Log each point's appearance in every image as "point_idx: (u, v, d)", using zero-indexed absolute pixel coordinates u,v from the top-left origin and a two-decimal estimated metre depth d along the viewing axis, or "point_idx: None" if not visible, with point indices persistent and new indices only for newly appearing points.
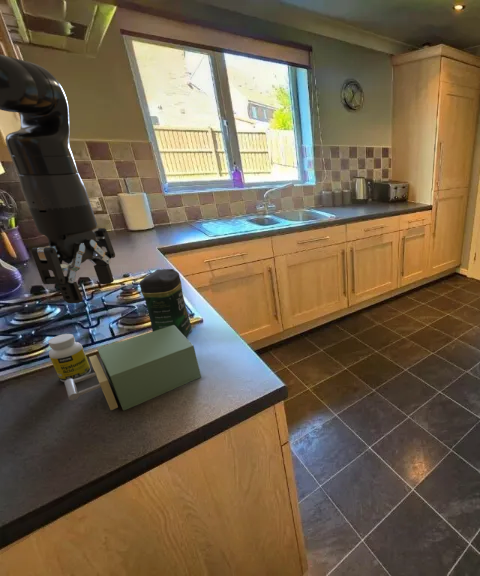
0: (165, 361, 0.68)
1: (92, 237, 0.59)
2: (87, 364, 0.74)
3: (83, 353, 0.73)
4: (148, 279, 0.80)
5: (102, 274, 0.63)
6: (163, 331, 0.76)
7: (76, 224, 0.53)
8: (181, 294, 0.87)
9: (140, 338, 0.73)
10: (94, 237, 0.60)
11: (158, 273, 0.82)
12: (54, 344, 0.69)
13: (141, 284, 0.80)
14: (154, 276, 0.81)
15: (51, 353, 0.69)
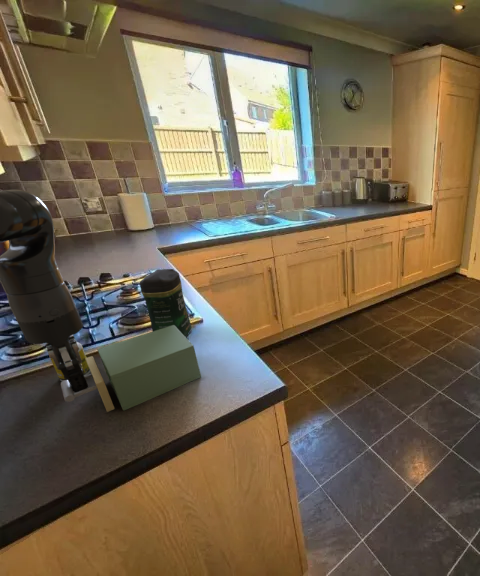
0: (165, 361, 0.68)
1: None
2: (87, 364, 0.74)
3: (83, 353, 0.73)
4: (148, 279, 0.80)
5: None
6: (163, 331, 0.76)
7: (77, 324, 0.59)
8: (181, 294, 0.87)
9: (140, 338, 0.73)
10: None
11: (158, 273, 0.82)
12: None
13: (141, 284, 0.80)
14: (154, 276, 0.81)
15: None
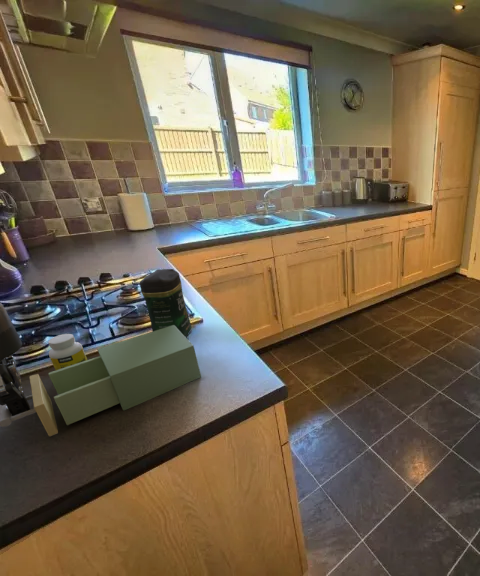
0: (165, 361, 0.68)
1: None
2: None
3: (83, 353, 0.73)
4: (148, 279, 0.80)
5: None
6: (163, 331, 0.76)
7: (13, 344, 0.54)
8: (181, 294, 0.87)
9: (140, 338, 0.73)
10: None
11: (158, 273, 0.82)
12: (54, 344, 0.69)
13: (141, 284, 0.80)
14: (154, 276, 0.81)
15: (51, 353, 0.69)
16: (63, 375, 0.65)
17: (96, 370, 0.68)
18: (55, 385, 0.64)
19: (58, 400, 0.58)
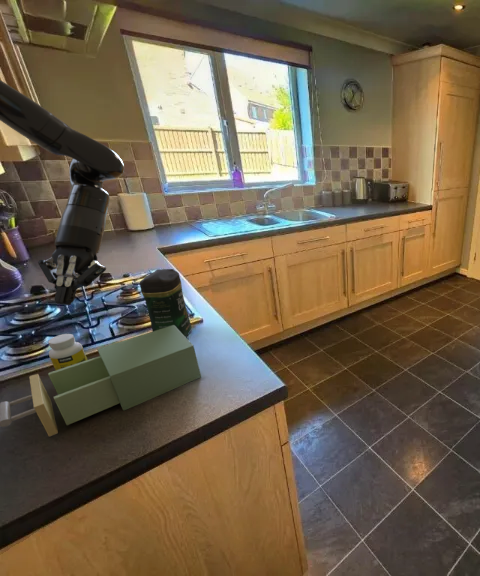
0: (165, 361, 0.68)
1: None
2: None
3: (83, 353, 0.73)
4: (148, 279, 0.80)
5: None
6: (163, 331, 0.76)
7: None
8: (181, 294, 0.87)
9: (140, 338, 0.73)
10: None
11: (158, 273, 0.82)
12: (54, 344, 0.69)
13: (141, 284, 0.80)
14: (154, 276, 0.81)
15: (51, 353, 0.69)
16: (63, 375, 0.65)
17: (96, 370, 0.68)
18: (55, 385, 0.64)
19: (58, 400, 0.58)
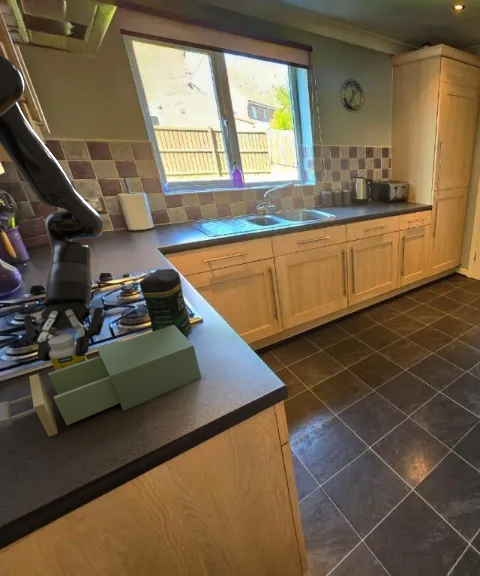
0: (165, 361, 0.68)
1: None
2: None
3: None
4: (148, 279, 0.80)
5: (47, 351, 0.70)
6: (163, 331, 0.76)
7: None
8: (181, 294, 0.87)
9: (140, 338, 0.73)
10: None
11: (158, 273, 0.82)
12: (54, 344, 0.69)
13: (141, 284, 0.80)
14: (154, 276, 0.81)
15: (51, 353, 0.69)
16: (63, 375, 0.65)
17: (96, 370, 0.68)
18: (55, 385, 0.64)
19: (58, 400, 0.58)
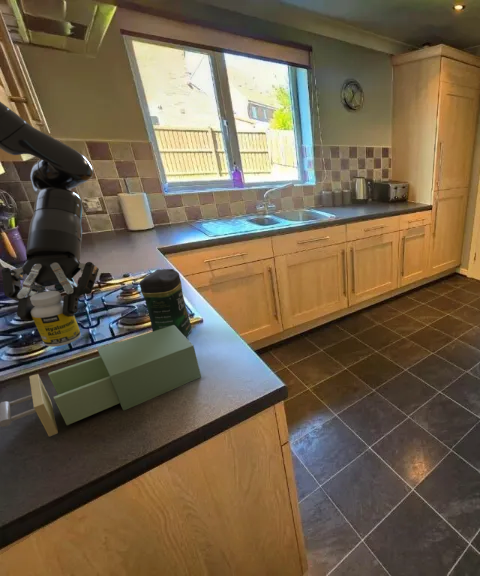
0: (165, 361, 0.68)
1: None
2: (76, 327, 0.64)
3: None
4: (148, 279, 0.80)
5: (29, 309, 0.60)
6: (163, 331, 0.76)
7: None
8: (181, 294, 0.87)
9: (140, 338, 0.73)
10: None
11: (158, 273, 0.82)
12: (37, 300, 0.59)
13: (141, 284, 0.80)
14: (154, 276, 0.81)
15: (33, 311, 0.59)
16: (63, 375, 0.65)
17: (96, 370, 0.68)
18: (55, 385, 0.64)
19: (58, 400, 0.58)
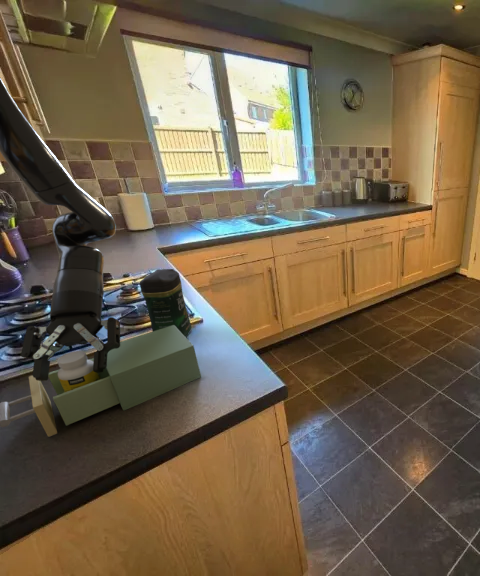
0: (165, 361, 0.68)
1: None
2: None
3: None
4: (148, 279, 0.80)
5: (45, 369, 0.60)
6: (163, 331, 0.76)
7: None
8: (181, 294, 0.87)
9: (140, 338, 0.73)
10: None
11: (158, 273, 0.82)
12: (64, 364, 0.60)
13: (141, 284, 0.80)
14: (154, 276, 0.81)
15: (60, 374, 0.60)
16: None
17: None
18: (54, 385, 0.64)
19: (57, 400, 0.58)
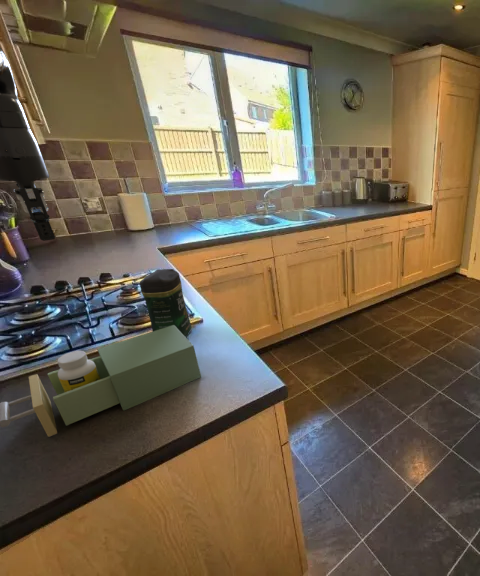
0: (165, 361, 0.68)
1: None
2: None
3: (96, 372, 0.64)
4: (148, 279, 0.80)
5: None
6: (163, 331, 0.76)
7: (42, 171, 0.65)
8: (181, 294, 0.87)
9: (140, 338, 0.73)
10: None
11: (158, 273, 0.82)
12: (64, 364, 0.60)
13: (141, 284, 0.80)
14: (154, 276, 0.81)
15: (60, 374, 0.60)
16: None
17: None
18: (54, 385, 0.64)
19: (57, 400, 0.58)
